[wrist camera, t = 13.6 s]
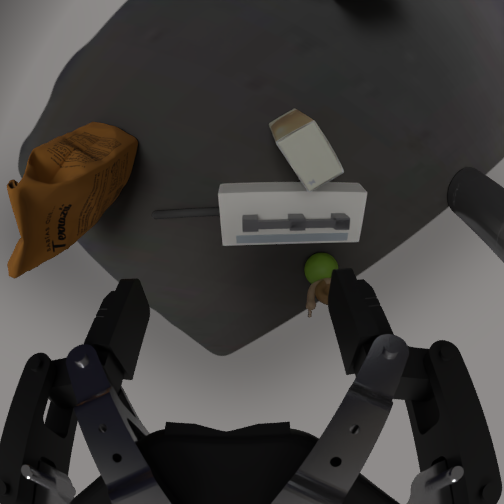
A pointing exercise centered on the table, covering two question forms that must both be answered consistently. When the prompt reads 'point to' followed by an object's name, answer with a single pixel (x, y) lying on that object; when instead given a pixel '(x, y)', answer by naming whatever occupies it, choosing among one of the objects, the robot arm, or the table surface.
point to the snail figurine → (319, 278)
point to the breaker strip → (282, 211)
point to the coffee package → (67, 190)
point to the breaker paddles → (295, 223)
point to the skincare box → (305, 149)
